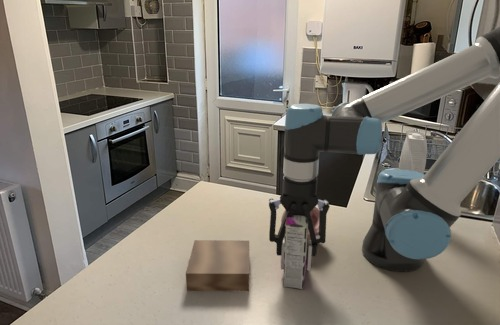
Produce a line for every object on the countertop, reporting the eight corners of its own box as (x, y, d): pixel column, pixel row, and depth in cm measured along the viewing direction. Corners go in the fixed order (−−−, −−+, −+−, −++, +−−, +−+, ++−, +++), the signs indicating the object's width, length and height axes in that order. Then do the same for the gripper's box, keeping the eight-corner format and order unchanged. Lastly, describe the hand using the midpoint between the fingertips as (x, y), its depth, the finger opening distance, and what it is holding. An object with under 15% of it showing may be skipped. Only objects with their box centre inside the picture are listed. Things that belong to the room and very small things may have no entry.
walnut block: (249, 257, 99) (249, 240, 97) (249, 292, 86) (249, 273, 84) (195, 257, 99) (194, 240, 97) (186, 292, 86) (185, 273, 84)
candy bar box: (286, 260, 97) (289, 201, 92) (306, 262, 96) (310, 203, 91) (281, 287, 87) (284, 223, 81) (303, 290, 86) (307, 226, 81)
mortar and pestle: (296, 258, 98) (298, 218, 94) (272, 237, 108) (273, 200, 104) (333, 247, 103) (336, 209, 99) (307, 227, 113) (309, 192, 110)
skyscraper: (405, 221, 118) (419, 134, 109) (386, 210, 125) (398, 127, 116) (425, 216, 121) (440, 131, 112) (405, 206, 128) (418, 125, 119)
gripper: (339, 170, 86) (331, 258, 94) (258, 168, 87) (257, 256, 95) (346, 183, 79) (336, 277, 87) (257, 181, 80) (256, 274, 88)
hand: (295, 266), depth 91 cm, fingers closed on candy bar box, 5 cm apart
